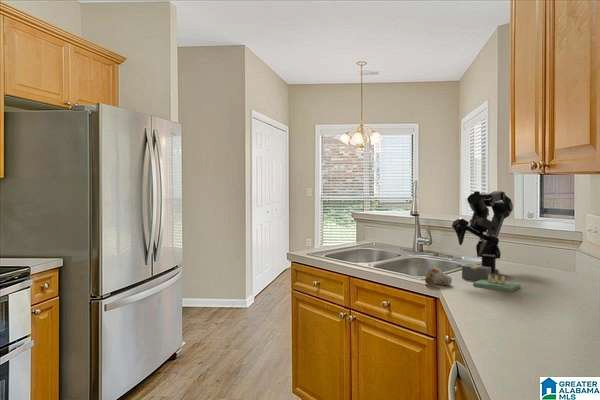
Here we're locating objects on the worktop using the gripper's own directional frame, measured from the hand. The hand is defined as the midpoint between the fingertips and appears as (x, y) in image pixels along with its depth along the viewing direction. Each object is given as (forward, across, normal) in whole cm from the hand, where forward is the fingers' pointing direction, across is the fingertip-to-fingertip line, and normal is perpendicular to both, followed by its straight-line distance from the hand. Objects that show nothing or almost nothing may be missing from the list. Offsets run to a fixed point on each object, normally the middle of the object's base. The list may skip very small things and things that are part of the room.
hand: (470, 250), depth 185 cm
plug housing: (+6, +9, +7) cm, 13 cm away
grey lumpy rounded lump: (+19, -7, +4) cm, 20 cm away
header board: (+12, +11, -6) cm, 17 cm away
